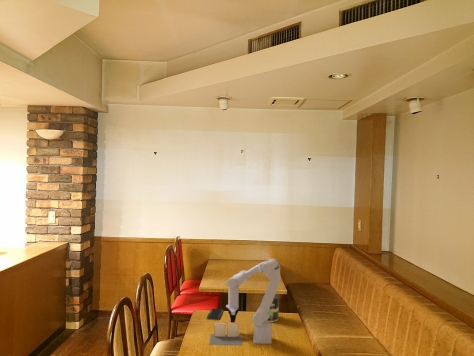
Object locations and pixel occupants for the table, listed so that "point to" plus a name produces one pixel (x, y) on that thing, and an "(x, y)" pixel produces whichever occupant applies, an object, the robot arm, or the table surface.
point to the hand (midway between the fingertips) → (232, 322)
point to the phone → (214, 314)
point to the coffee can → (274, 308)
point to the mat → (225, 340)
